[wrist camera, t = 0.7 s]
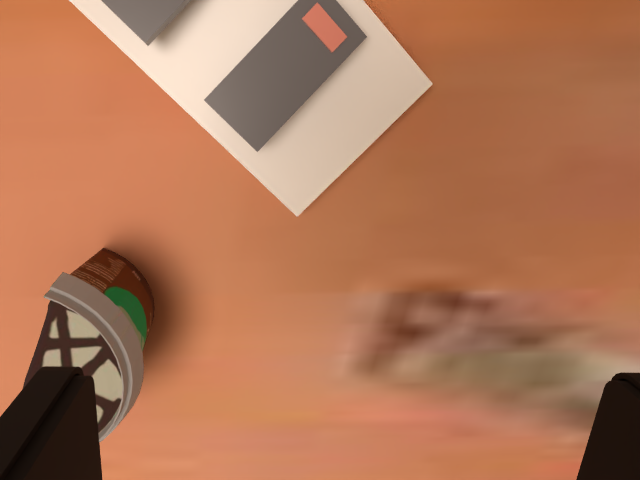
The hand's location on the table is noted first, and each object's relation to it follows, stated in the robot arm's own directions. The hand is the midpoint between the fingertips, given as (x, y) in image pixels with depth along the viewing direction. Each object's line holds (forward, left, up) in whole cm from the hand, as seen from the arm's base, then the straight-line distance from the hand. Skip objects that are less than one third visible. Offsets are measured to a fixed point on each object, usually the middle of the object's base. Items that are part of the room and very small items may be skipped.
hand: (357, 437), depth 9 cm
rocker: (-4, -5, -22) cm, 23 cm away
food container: (+17, -1, -27) cm, 32 cm away
